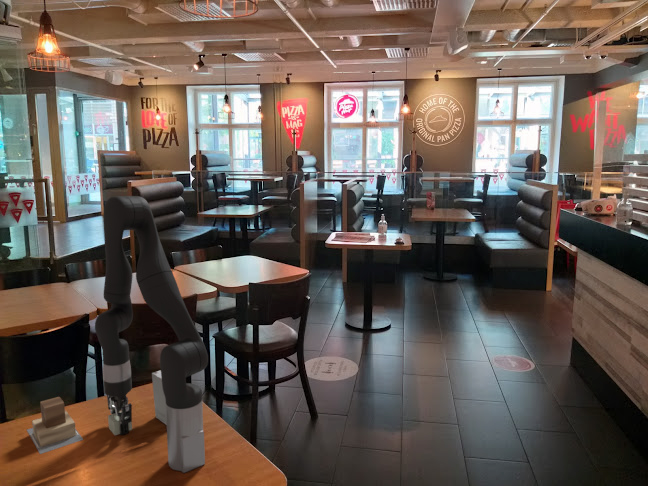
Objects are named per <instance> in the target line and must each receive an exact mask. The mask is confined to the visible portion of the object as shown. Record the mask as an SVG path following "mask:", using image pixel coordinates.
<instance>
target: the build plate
mask: <svg viewBox="0 0 648 486" xmlns="http://www.w3.org/2000/svg"><path fill="white" fill-rule="evenodd" d="M75 430H76V436H73V437H70V438H67V439H64V440H61V441H58V442H55V443H52V444H49V445H46V446H43V447H41V446H40V444H39V443H38V441H37V439H36V437H35V436H34V434H33V427H30V428H28V429H26V431H27V433H28V435H29V437H30V439H31V440H32V442H33V444H34V446H35V448H36V449H37V451H38V453H39V455H42V454H44V453H48V452H51V451H53V450H54V451H55V450H57V449H60V448H63V447H65V446H69V445H72V444H75V443H77V442H80V441H81V442H82V441H83V440H84V438H83V437H82V435H81V434H80V432H79V431H78V430H77V428H75Z"/></svg>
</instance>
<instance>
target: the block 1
mask: <svg viewBox="0 0 648 486" xmlns="http://www.w3.org/2000/svg"><path fill="white" fill-rule="evenodd" d="M39 403H40V404H39V405H40V412H41V413H40V414H41V415H40V417H41V418H42V422H43V424H44V425H45V427H46V428H49V427H53V426H56V425H59V424H62V423H66V418H65V411H66V407H65V402H64V401H63V399H62V398H61V397H60V396H56V397H53V398H49V399H45V400H42V401H40V402H39Z"/></svg>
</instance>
